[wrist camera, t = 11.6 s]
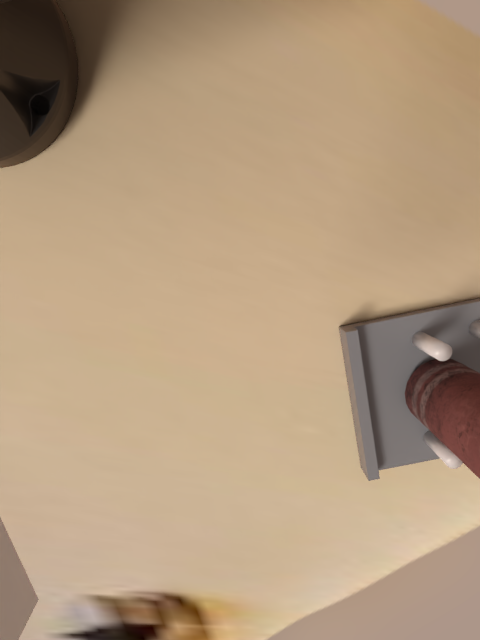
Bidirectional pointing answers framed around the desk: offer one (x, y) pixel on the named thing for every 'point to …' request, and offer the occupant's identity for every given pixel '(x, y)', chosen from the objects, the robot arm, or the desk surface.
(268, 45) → the desk surface
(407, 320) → the tray
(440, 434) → the can
